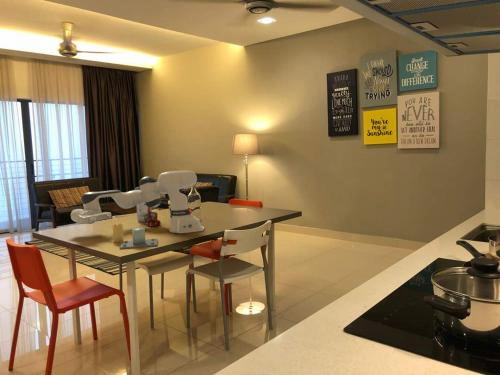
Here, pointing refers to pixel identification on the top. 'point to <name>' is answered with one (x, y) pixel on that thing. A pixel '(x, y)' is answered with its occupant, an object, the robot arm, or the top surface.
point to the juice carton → (142, 210)
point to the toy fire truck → (153, 219)
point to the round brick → (118, 232)
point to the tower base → (130, 244)
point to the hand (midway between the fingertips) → (103, 218)
